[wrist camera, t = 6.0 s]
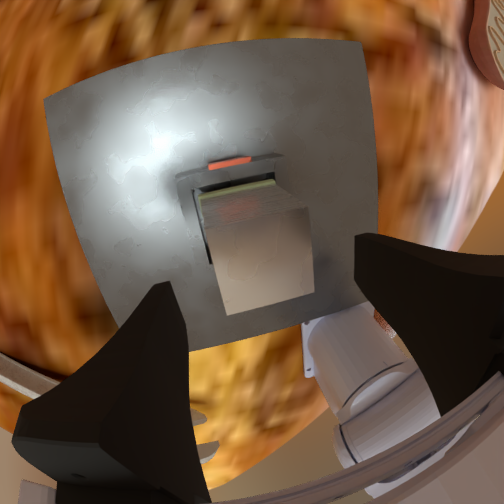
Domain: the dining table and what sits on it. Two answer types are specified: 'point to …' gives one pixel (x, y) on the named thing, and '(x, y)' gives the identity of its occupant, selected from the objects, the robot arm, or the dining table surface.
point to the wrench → (40, 384)
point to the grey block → (258, 244)
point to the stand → (217, 170)
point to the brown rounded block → (488, 39)
